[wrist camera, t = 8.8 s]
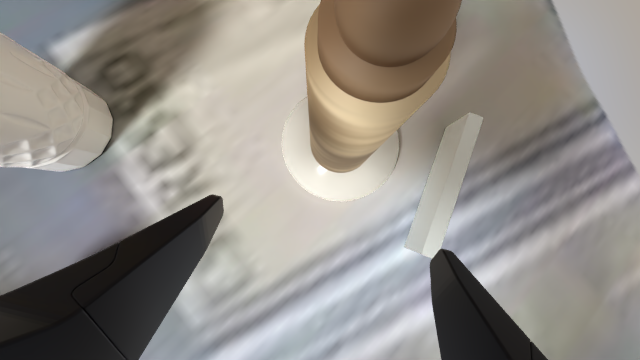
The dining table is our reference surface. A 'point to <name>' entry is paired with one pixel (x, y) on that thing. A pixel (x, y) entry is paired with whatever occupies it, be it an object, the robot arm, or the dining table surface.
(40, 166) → the white cup
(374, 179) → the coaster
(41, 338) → the robot arm
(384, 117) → the pepper mill
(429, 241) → the divider wall
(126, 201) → the dining table surface
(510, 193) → the dining table surface
